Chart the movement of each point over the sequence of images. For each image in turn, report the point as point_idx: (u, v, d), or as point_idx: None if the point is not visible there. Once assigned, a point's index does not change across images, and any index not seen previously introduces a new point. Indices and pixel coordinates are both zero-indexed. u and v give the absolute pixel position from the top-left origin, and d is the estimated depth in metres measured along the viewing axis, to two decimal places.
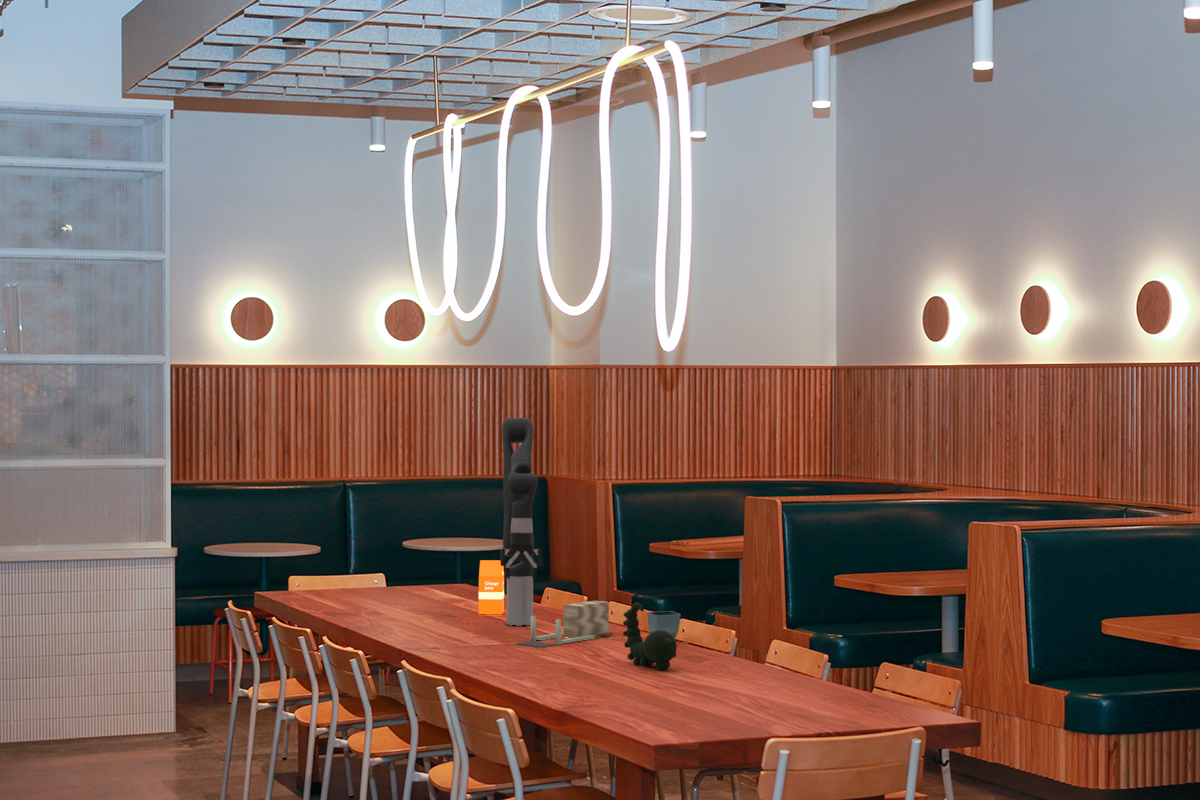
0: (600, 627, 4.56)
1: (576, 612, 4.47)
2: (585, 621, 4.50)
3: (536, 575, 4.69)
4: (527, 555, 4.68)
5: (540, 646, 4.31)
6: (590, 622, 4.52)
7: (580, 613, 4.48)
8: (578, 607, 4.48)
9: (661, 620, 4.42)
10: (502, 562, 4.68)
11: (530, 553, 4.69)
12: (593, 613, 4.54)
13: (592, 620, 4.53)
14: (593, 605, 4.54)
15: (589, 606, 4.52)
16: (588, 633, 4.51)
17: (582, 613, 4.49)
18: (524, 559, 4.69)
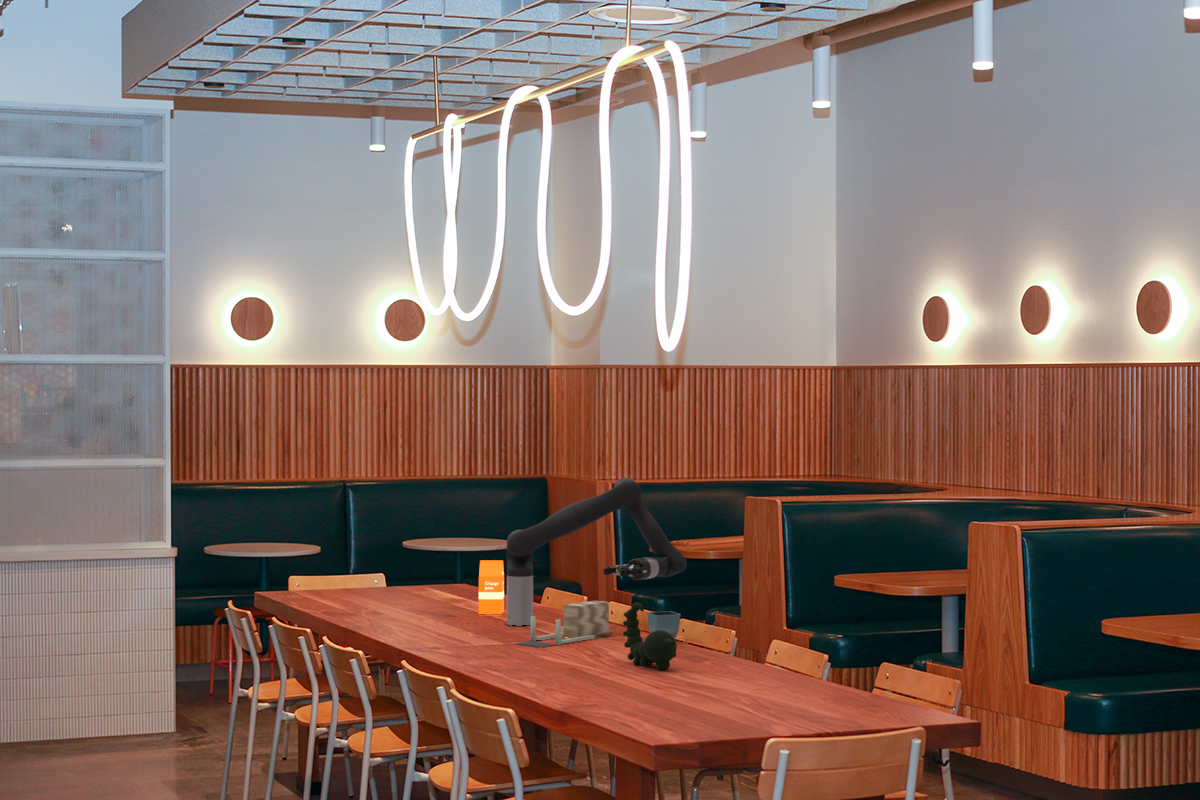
0: (600, 627, 4.56)
1: (576, 612, 4.47)
2: (585, 621, 4.50)
3: None
4: None
5: (540, 646, 4.31)
6: (590, 622, 4.52)
7: (580, 613, 4.48)
8: (578, 607, 4.48)
9: (661, 620, 4.42)
10: (636, 575, 4.66)
11: None
12: (593, 613, 4.54)
13: (592, 620, 4.53)
14: (593, 605, 4.54)
15: (589, 606, 4.52)
16: (588, 633, 4.51)
17: (582, 613, 4.49)
18: None
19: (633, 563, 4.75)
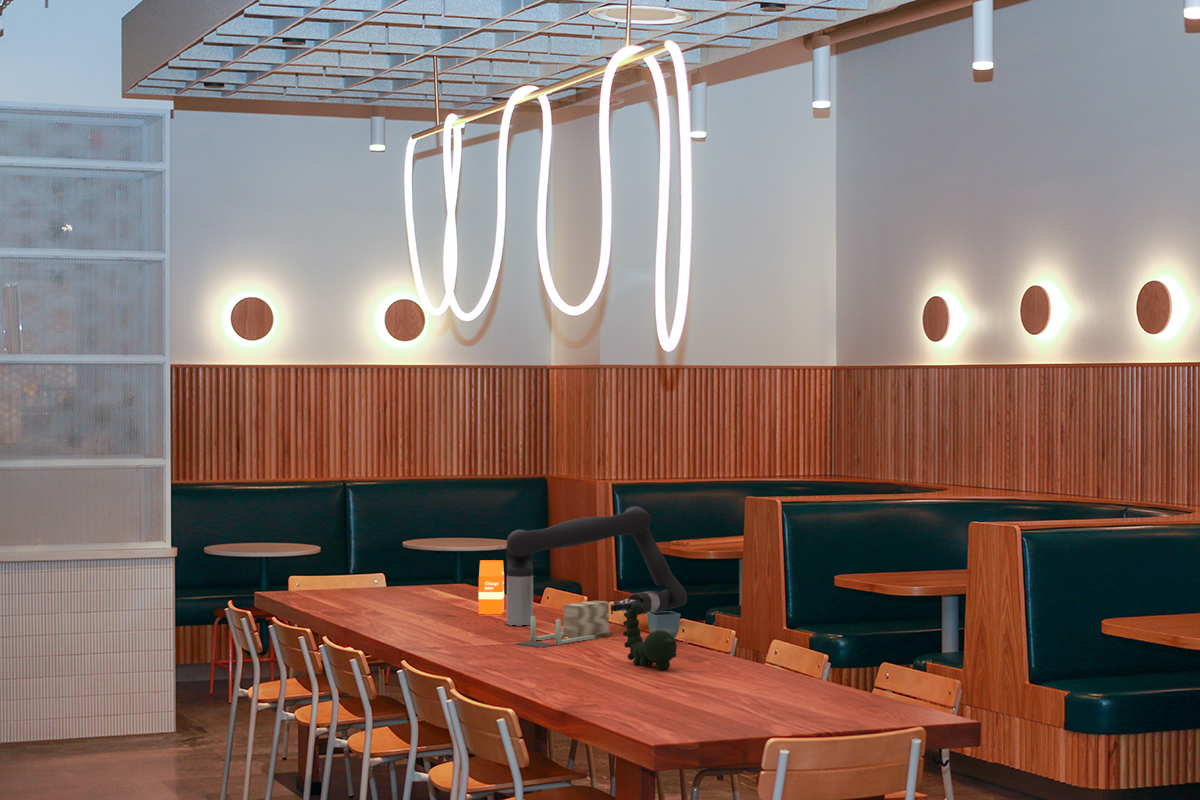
0: (600, 627, 4.56)
1: (576, 612, 4.47)
2: (585, 621, 4.50)
3: None
4: None
5: (540, 646, 4.31)
6: (590, 622, 4.52)
7: (580, 613, 4.48)
8: (578, 607, 4.48)
9: (661, 620, 4.42)
10: None
11: None
12: (593, 613, 4.54)
13: (592, 620, 4.53)
14: (593, 605, 4.54)
15: (589, 606, 4.52)
16: (588, 633, 4.51)
17: (582, 613, 4.49)
18: None
19: (634, 598, 4.75)
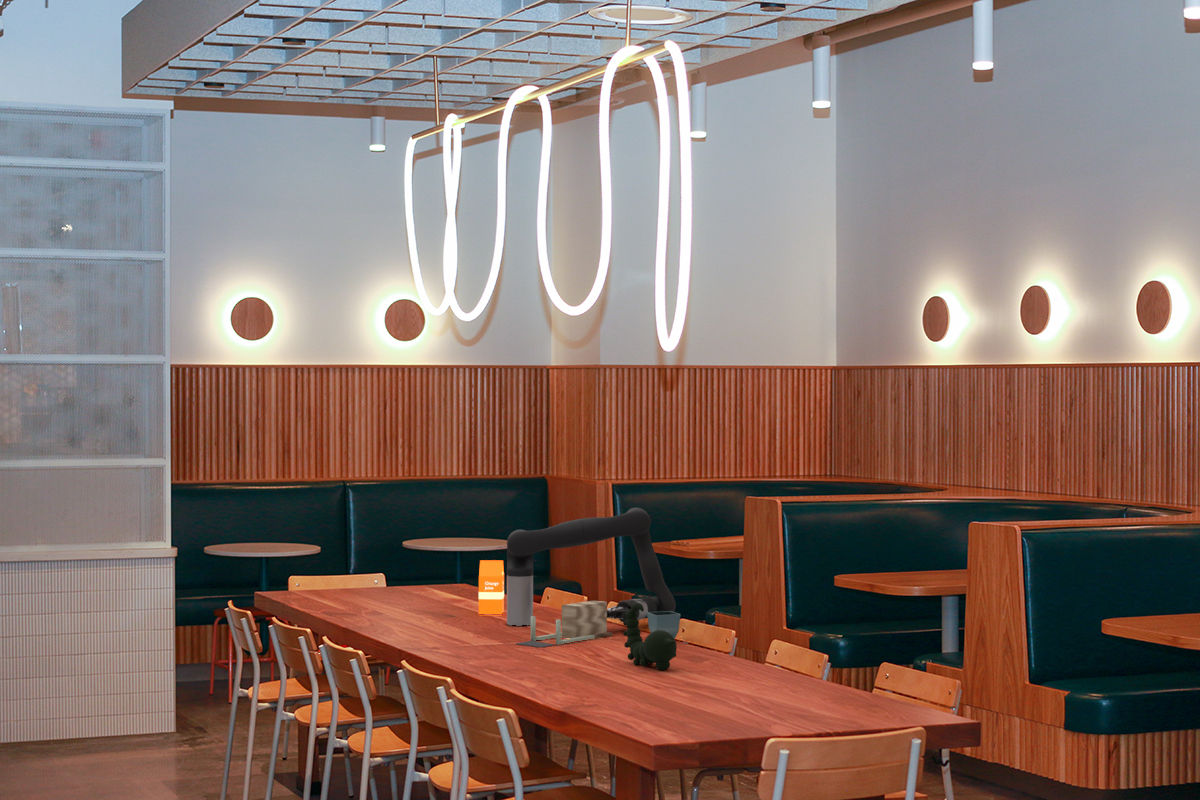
0: (598, 627, 4.55)
1: (575, 612, 4.46)
2: (583, 621, 4.49)
3: None
4: None
5: (540, 646, 4.31)
6: (588, 622, 4.51)
7: (578, 613, 4.47)
8: (576, 607, 4.47)
9: (661, 620, 4.42)
10: (616, 617, 4.63)
11: None
12: (592, 613, 4.53)
13: (591, 620, 4.52)
14: (591, 605, 4.53)
15: (587, 606, 4.51)
16: (586, 633, 4.51)
17: (580, 613, 4.48)
18: None
19: (622, 605, 4.71)
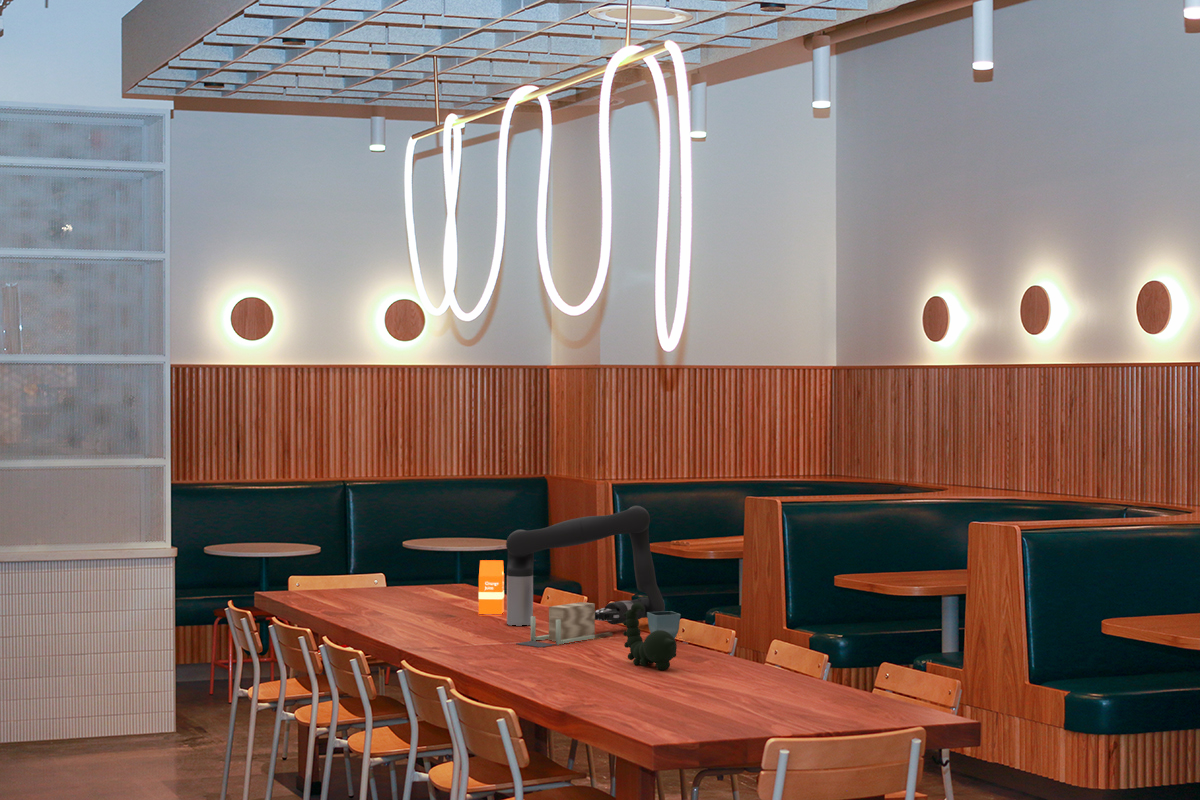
0: (586, 629, 4.50)
1: (562, 614, 4.42)
2: (570, 623, 4.45)
3: None
4: None
5: (540, 646, 4.31)
6: (575, 624, 4.46)
7: (565, 615, 4.43)
8: (563, 609, 4.42)
9: (661, 620, 4.42)
10: (604, 619, 4.58)
11: None
12: (579, 615, 4.48)
13: (578, 622, 4.47)
14: (579, 607, 4.48)
15: (575, 608, 4.46)
16: (574, 635, 4.46)
17: (567, 615, 4.44)
18: None
19: (610, 607, 4.66)
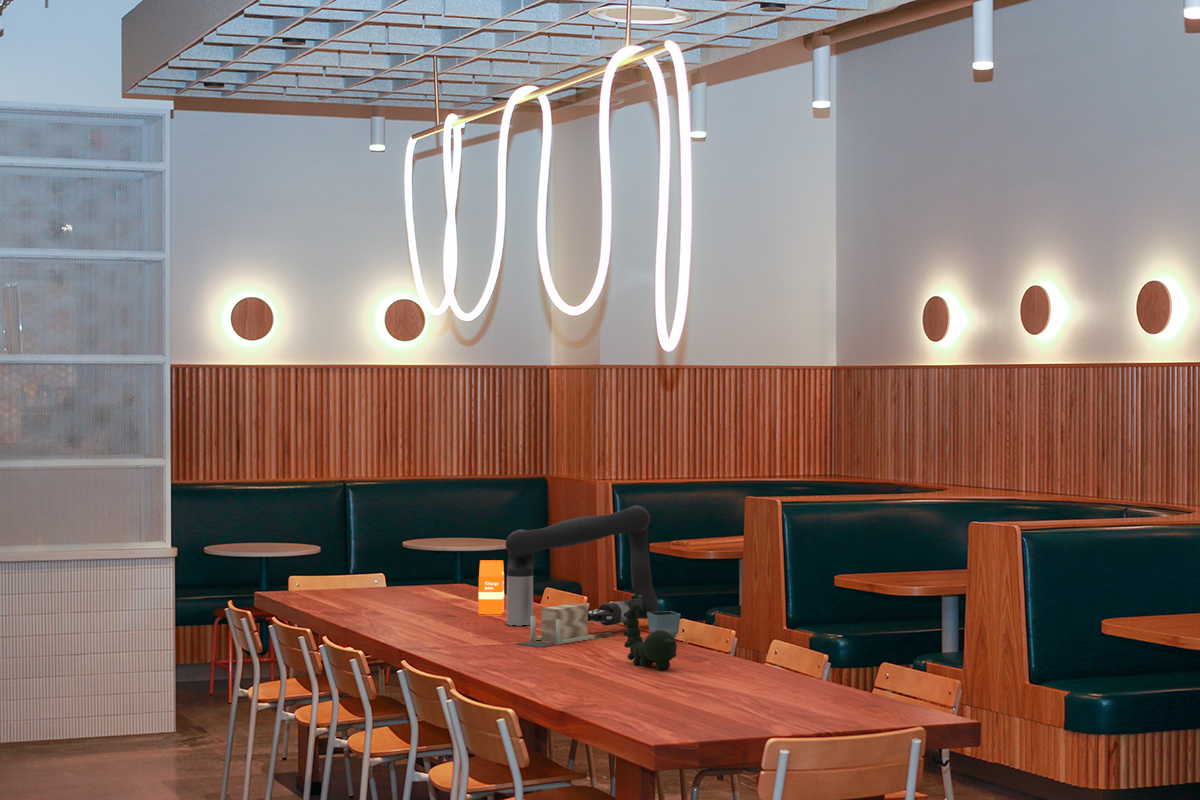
0: (578, 630, 4.48)
1: (554, 615, 4.39)
2: (563, 625, 4.42)
3: None
4: None
5: (540, 646, 4.31)
6: (568, 625, 4.44)
7: (557, 616, 4.40)
8: (556, 610, 4.39)
9: (661, 620, 4.42)
10: None
11: None
12: (572, 616, 4.45)
13: (571, 623, 4.45)
14: (571, 608, 4.45)
15: (567, 609, 4.43)
16: (566, 637, 4.43)
17: (560, 616, 4.41)
18: None
19: (603, 608, 4.63)
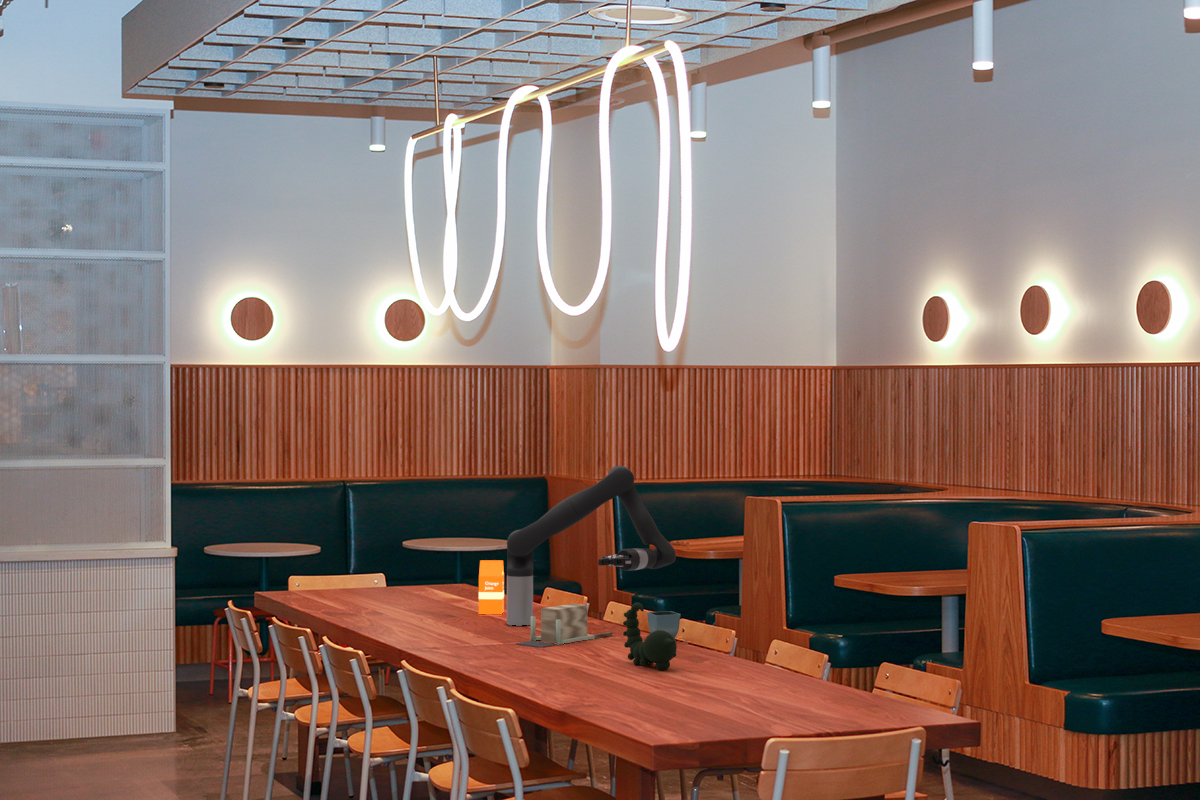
0: (578, 631, 4.47)
1: (554, 615, 4.39)
2: (563, 625, 4.42)
3: None
4: None
5: (540, 646, 4.31)
6: (568, 625, 4.44)
7: (557, 616, 4.40)
8: (556, 610, 4.39)
9: (661, 620, 4.42)
10: None
11: None
12: (572, 616, 4.45)
13: (570, 623, 4.45)
14: (571, 608, 4.45)
15: (567, 609, 4.43)
16: (566, 637, 4.43)
17: (560, 616, 4.41)
18: None
19: (622, 553, 4.71)
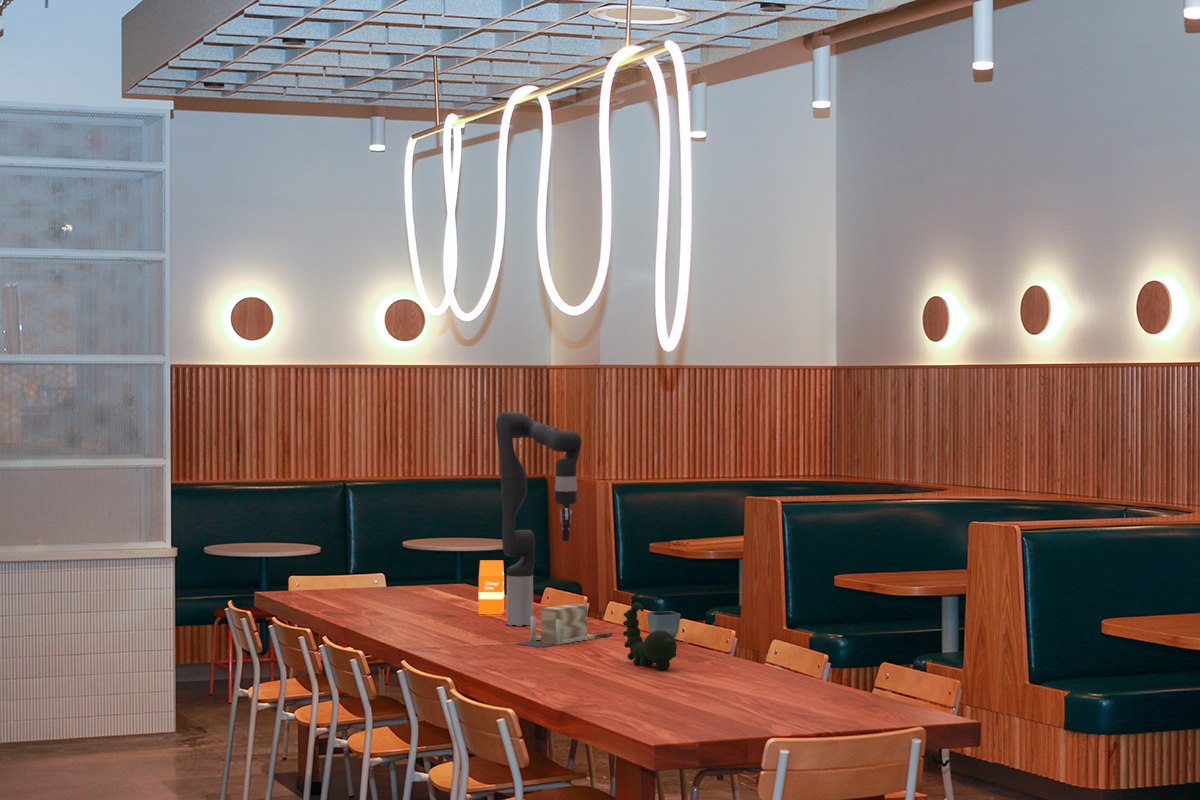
0: (578, 631, 4.48)
1: (554, 615, 4.39)
2: (563, 625, 4.42)
3: None
4: None
5: (540, 646, 4.31)
6: (568, 625, 4.44)
7: (557, 616, 4.40)
8: (556, 610, 4.39)
9: (661, 620, 4.42)
10: (569, 524, 4.62)
11: None
12: (572, 616, 4.45)
13: (570, 623, 4.45)
14: (571, 608, 4.45)
15: (567, 609, 4.43)
16: (566, 637, 4.43)
17: (560, 616, 4.41)
18: None
19: None
